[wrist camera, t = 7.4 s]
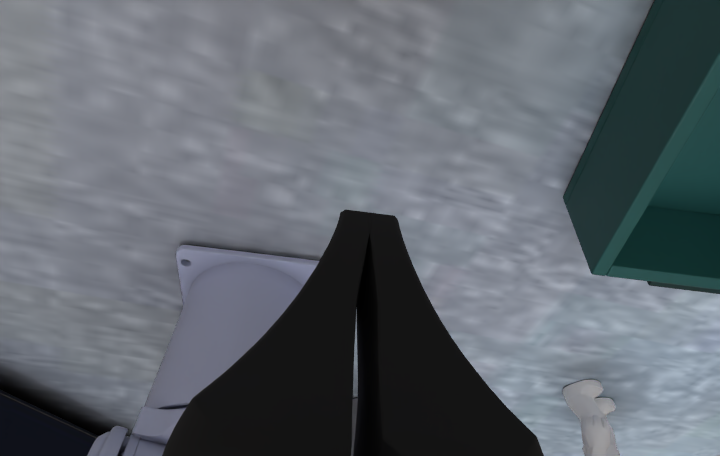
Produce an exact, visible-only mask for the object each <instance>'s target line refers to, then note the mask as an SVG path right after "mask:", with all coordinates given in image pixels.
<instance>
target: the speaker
mask: <svg viewBox="0 0 720 456" xmlns="http://www.w3.org/2000/svg"><path fill="white" fill-rule="evenodd" d="M97 437H99V436H98V435H95V434H93V433H91V432H89V431H87V430H85V429H83V428H81V427H78V426H76V425H74V424H72V423H70V422H68V421H66V420H63V419H61V418H59V417H57V416H55V415H53V414H51V413H49V412H46V411H44V410H42V409H40V408H38V407H36V406H34V405H32V404H29V403H27V402H25V401H23V400H21V399H19V398H17V397H14V396H12V395H10V394H8V393H6V392H4V391H2V390H0V456H87V455H88V453H89V451H90V449H91V447H92V445H93V443H94V441H95V440H96V438H97Z"/></svg>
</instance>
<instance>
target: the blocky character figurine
mask: <svg viewBox="0 0 720 456" xmlns="http://www.w3.org/2000/svg"><path fill="white" fill-rule="evenodd" d="M562 392H563V395H564V398H565V400H566V403H567V405H568V406H569V408H570V409H571V410H572V411H573V412H574V413H575V415H576V416H577V417H578V418H579V419H580V421H581V430H582V439H583V443H584V445H583V448H582V449H583V452H584V455H585V456H620V454H619V451H618V450H617V445H616V441H615V435H614V431H613V429H612V427H611V425H610V424H609V422H608V419H607V417H606V415H607V414H608V413H610V412H613V411H615V409H616V407H615V404H614V401H613V400H612V399H611V398H604V397H602V398H596V397H597V396H599V395H600V394H601V393H603V387H602V385H601V383H600V382H599V381H597V380H591V379H590V380H583V381H579V382H576V383H573V384H571V385H568V386H566V387H565V388H563V391H562Z"/></svg>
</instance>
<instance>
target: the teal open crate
mask: <svg viewBox="0 0 720 456" xmlns="http://www.w3.org/2000/svg"><path fill="white" fill-rule="evenodd" d="M563 199H564V202H565V204H566V207H567V210H568V212H569V215H570V218H571V220H572V223H573V226H574V228H575V231H576V234H577V236H578V239H579V242H580V244H581V247H582V250H583V252H584V255H585V258H586V260H587V263H588V266H589V268H590V271H591V273H592V274H594V275H603V276H605V275H606V276H611V277H619V278H627V279H635V280H643V281H647V282H648V284H649V285H651V286H659V287H667V288H675V289H683V290H691V291H700V292H708V293H716V294H720V0H655V1H654V4H653V6H652V8H651V10H650V12H649V14H648V16H647V19H646V21H645V23H644V25H643V27H642V29H641V31H640V34H639V36H638V38H637V40H636V42H635V44H634V46H633V49H632V51H631V53H630V55H629V57H628V59H627V61H626V64H625V66H624V68H623V70H622V72H621V74H620V76H619V79H618V81H617V83H616V85H615V87H614V89H613V91H612V94H611V96H610V98H609V100H608V102H607V104H606V106H605V109H604V111H603V113H602V115H601V117H600V119H599V121H598V124H597V126H596V128H595V130H594V132H593V134H592V136H591V139H590V141H589V143H588V145H587V147H586V149H585V151H584V154H583V156H582V158H581V160H580V162H579V164H578V166H577V169H576V171H575V173H574V175H573V177H572V179H571V181H570V184H569V186H568V188H567V190H566V192H565V194H564V196H563Z"/></svg>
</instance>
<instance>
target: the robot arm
mask: <svg viewBox="0 0 720 456" xmlns="http://www.w3.org/2000/svg"><path fill="white" fill-rule="evenodd" d="M185 259H186V260H189V261H186V260H185ZM176 260H177V266H178V273H179V280H180V286H181V293H182V300H183V309H182V311H181V314H180V316H179V319H178V321H177V324H176V327H175V329H174V332H173V334H172V337H171V339H170V342H169V344H168V347H167V350H166V352H165V355H164V357H163V360H162V362H161V365H160V368H159V370H158V373H157V375H156V378H155V380H154V383H153V386H152V388H151V391H150V393H149V396H148V398H147V401H146V403H145V406H144V407H142V408H141V410H140V413H139V415H138V418H137V420H136V423H135V425H134V428H133V430H132V433H131V435H130V437H128V436H126V435H127V432H128V429H127V428H124V427H121V426H115V427H113V428H112V430H111V431H110V432H106V433H104V434H102V435H101V436H99V437H97V438H96V440H95V441H94V443H93V445H92V447H91V449H90V451H89V453H88V455H87V456H351V448H352V403H353V367H354V342H355V322H356V308H357V349H358V403H357V416H356V428H355V441H354V453H353V456H544V455H543V453H542V450H541V447H540V444H539V442H538V439H537V437H536V436H535V435H534V434H533V433H532V432H531V431H530V430H529V429H528V428H527V427H526V426H525V425H524V424H523V423H522V422H521V421H520V420H519V419H518V418H517V417H516V416H515V415H514V414H513V413H512V412H511V411H510V410H509V409H508V408H507V407H506V406H505V405H504V404H503V403H502V401H501V400H500V399H499V398H498V397H497V396H496V395H495V393H494V392H493V391H492V390H491V389H490V388H489V387H488V386H487V384H486V383H485V382H484V380H483V379H482V378H481V377H480V375H479V374H478V373H477V372H476V370H475V369H474V368H473V367H472V365H471V364H470V363H469V361H468V360H467V359H466V358H465V356H464V355H463V354H462V352H461V351H460V349H459V348H458V346H457V345H456V343H455V342H454V341H453V339H452V338H451V336H450V335H449V333H448V331H447V330H446V328H445V327H444V325H443V323H442V322H441V320H440V318H439V317H438V315H437V313H436V311H435V310H434V308H433V306H432V304H431V302H430V300H429V299H428V297H427V295H426V293H425V291H424V289H423V287H422V285H421V283H420V280H419V278H418V276H417V274H416V271H415V269H414V267H413V265H412V262H411V260H410V257H409V255H408V252H407V249H406V246H405V244H404V241H403V238H402V234H401V231H400V227H399V223H398V220H397V218H396V217H395V216H392V215H384V214H376V213H368V212H360V211H352V210H344V211H343V212H341V213H340V217H339V221H338V224H337V227H336V230H335V232H334V234H333V236H332V239H331V241H330V243H329V245H328V247H327V249H326V250H325V252H324V254H323V256H322V258H321V259H320V261H316V260H308V259H300V258H291V257H283V256H275V255H266V254H258V253H250V252H242V251H233V250H225V249H217V248H208V247H200V246H192V245H181V246H179V247H178V249H177V251H176Z"/></svg>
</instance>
